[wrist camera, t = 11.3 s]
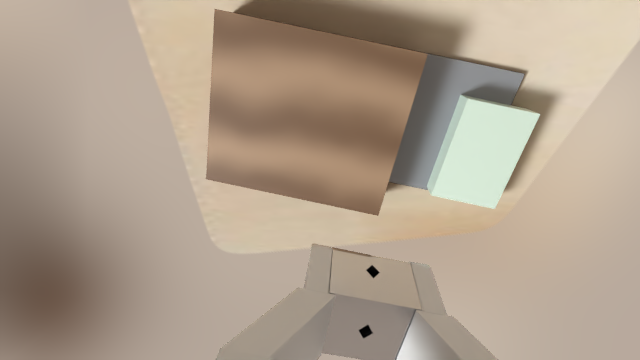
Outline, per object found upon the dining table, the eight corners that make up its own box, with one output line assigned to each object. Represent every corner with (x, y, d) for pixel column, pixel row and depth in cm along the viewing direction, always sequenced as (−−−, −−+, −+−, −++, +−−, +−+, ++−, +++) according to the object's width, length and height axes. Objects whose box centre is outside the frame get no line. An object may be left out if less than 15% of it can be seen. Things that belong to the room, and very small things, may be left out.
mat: (423, 52, 28) (424, 53, 27) (522, 73, 28) (524, 73, 27) (385, 179, 33) (385, 181, 32) (469, 197, 33) (470, 198, 32)
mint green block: (540, 114, 27) (528, 109, 28) (468, 98, 27) (460, 94, 28) (494, 209, 30) (486, 199, 32) (431, 195, 30) (426, 186, 32)
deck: (232, 12, 28) (214, 9, 24) (417, 51, 28) (427, 54, 24) (222, 163, 34) (206, 179, 30) (375, 195, 33) (378, 215, 30)
